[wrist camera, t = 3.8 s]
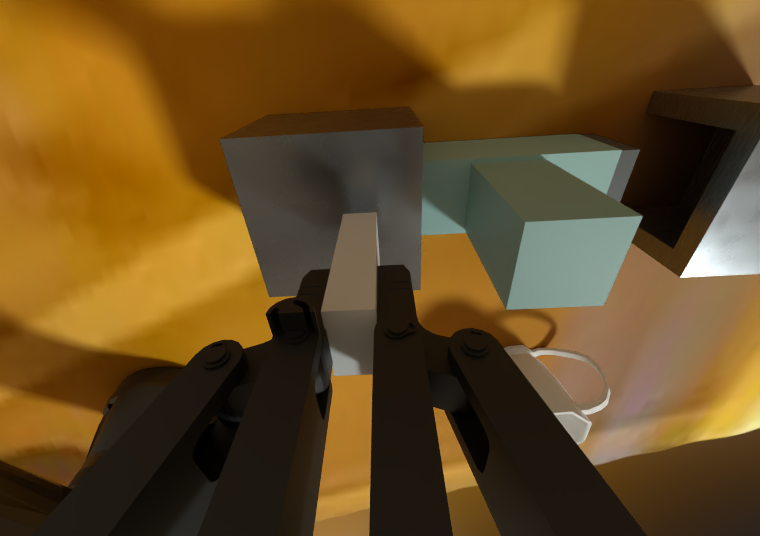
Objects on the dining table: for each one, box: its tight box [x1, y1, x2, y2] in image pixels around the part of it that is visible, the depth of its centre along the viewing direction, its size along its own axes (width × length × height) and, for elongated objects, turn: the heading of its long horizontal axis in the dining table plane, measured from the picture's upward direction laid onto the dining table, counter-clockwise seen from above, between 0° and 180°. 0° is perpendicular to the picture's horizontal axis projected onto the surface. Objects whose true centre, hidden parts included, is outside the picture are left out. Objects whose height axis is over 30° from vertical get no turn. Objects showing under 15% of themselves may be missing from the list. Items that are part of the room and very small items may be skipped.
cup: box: [504, 345, 611, 445], centre depth 29 cm, size 7×10×8 cm
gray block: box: [219, 107, 423, 297], centre depth 19 cm, size 9×9×7 cm
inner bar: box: [421, 134, 643, 310], centre depth 17 cm, size 21×4×12 cm, turn 93°
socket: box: [630, 85, 760, 277], centre depth 19 cm, size 6×9×7 cm
